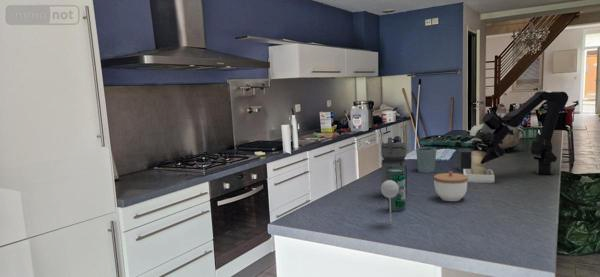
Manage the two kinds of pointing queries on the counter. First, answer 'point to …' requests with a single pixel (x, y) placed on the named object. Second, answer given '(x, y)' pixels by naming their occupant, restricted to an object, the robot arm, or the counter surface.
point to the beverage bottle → (393, 157)
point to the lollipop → (389, 191)
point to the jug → (509, 139)
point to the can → (399, 200)
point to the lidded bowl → (450, 186)
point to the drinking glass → (426, 159)
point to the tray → (480, 176)
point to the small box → (464, 159)
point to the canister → (477, 163)
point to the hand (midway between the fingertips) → (475, 161)
